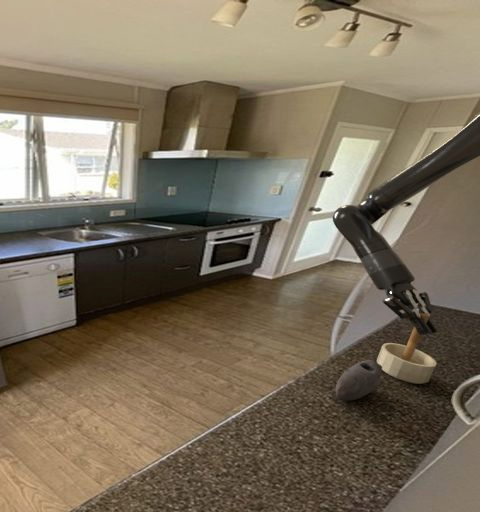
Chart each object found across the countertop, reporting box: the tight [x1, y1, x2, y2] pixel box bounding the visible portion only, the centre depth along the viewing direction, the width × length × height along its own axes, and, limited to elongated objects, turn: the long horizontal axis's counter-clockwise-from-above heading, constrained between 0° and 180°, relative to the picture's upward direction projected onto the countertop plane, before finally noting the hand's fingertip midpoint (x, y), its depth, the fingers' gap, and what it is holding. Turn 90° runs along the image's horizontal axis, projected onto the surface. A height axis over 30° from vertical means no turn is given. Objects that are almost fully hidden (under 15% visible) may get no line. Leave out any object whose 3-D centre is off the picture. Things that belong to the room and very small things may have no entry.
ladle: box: [401, 313, 430, 362], centre depth 72 cm, size 4×2×16 cm, turn 95°
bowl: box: [376, 342, 438, 385], centre depth 74 cm, size 10×10×6 cm
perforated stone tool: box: [335, 359, 383, 402], centre depth 67 cm, size 15×5×7 cm, turn 114°
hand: (429, 333), depth 69 cm, fingers closed on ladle
